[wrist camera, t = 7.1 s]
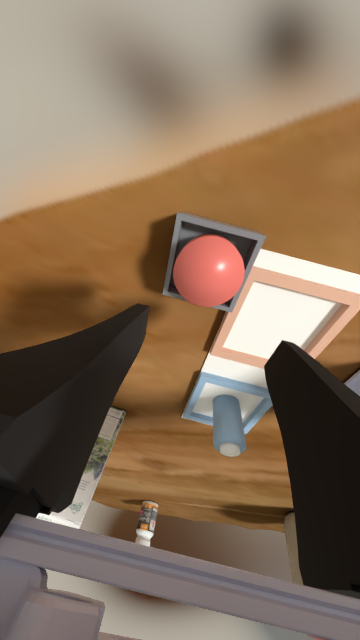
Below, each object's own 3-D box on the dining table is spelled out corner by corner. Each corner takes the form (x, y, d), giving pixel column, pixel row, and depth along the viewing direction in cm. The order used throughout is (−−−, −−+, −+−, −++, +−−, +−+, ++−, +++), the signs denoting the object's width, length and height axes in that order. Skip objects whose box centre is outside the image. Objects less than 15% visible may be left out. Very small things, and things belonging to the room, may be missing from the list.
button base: (256, 230, 15) (266, 236, 12) (228, 298, 18) (231, 312, 16) (182, 211, 15) (177, 212, 12) (168, 282, 18) (162, 294, 16)
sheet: (380, 280, 16) (382, 280, 15) (244, 432, 32) (244, 433, 31) (253, 246, 16) (254, 247, 15) (181, 416, 31) (181, 417, 31)
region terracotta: (363, 294, 16) (369, 298, 16) (294, 372, 22) (297, 377, 22) (246, 264, 16) (248, 266, 16) (209, 350, 22) (210, 354, 22)
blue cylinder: (241, 395, 26) (249, 446, 21) (237, 411, 28) (244, 461, 23) (213, 393, 27) (214, 442, 21) (211, 408, 29) (212, 456, 23)
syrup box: (94, 415, 36) (35, 522, 23) (97, 399, 32) (30, 515, 20) (121, 424, 36) (77, 534, 24) (127, 410, 33) (79, 529, 21)
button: (251, 243, 13) (257, 248, 11) (226, 302, 16) (228, 313, 14) (185, 225, 13) (181, 228, 11) (172, 287, 16) (167, 297, 14)
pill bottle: (151, 499, 62) (142, 544, 54) (161, 505, 64) (154, 549, 56) (139, 500, 65) (129, 543, 56) (150, 505, 67) (141, 547, 58)
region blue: (278, 391, 25) (280, 396, 24) (245, 429, 31) (246, 434, 30) (201, 371, 24) (200, 375, 24) (183, 412, 31) (182, 417, 30)
